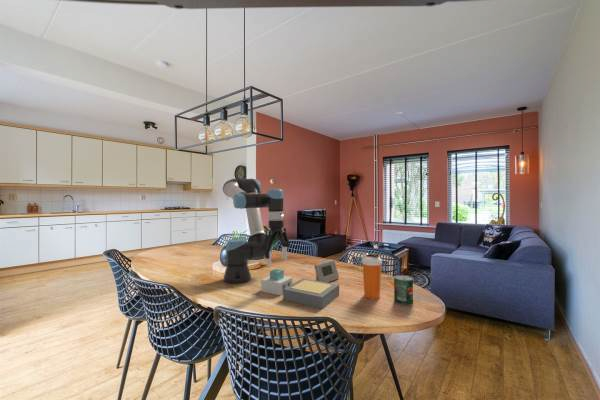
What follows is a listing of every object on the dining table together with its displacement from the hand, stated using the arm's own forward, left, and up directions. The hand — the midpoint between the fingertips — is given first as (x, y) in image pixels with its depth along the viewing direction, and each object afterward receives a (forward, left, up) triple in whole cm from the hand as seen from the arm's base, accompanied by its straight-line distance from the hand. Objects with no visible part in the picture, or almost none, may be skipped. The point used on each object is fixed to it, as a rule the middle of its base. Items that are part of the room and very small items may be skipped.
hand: (276, 262), depth 136 cm
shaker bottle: (+44, +15, -15) cm, 48 cm away
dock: (+20, 0, -14) cm, 24 cm away
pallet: (0, 0, -14) cm, 14 cm away
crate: (0, 0, -8) cm, 8 cm away
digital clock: (+16, +25, -15) cm, 33 cm away
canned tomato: (+58, +15, -15) cm, 61 cm away
